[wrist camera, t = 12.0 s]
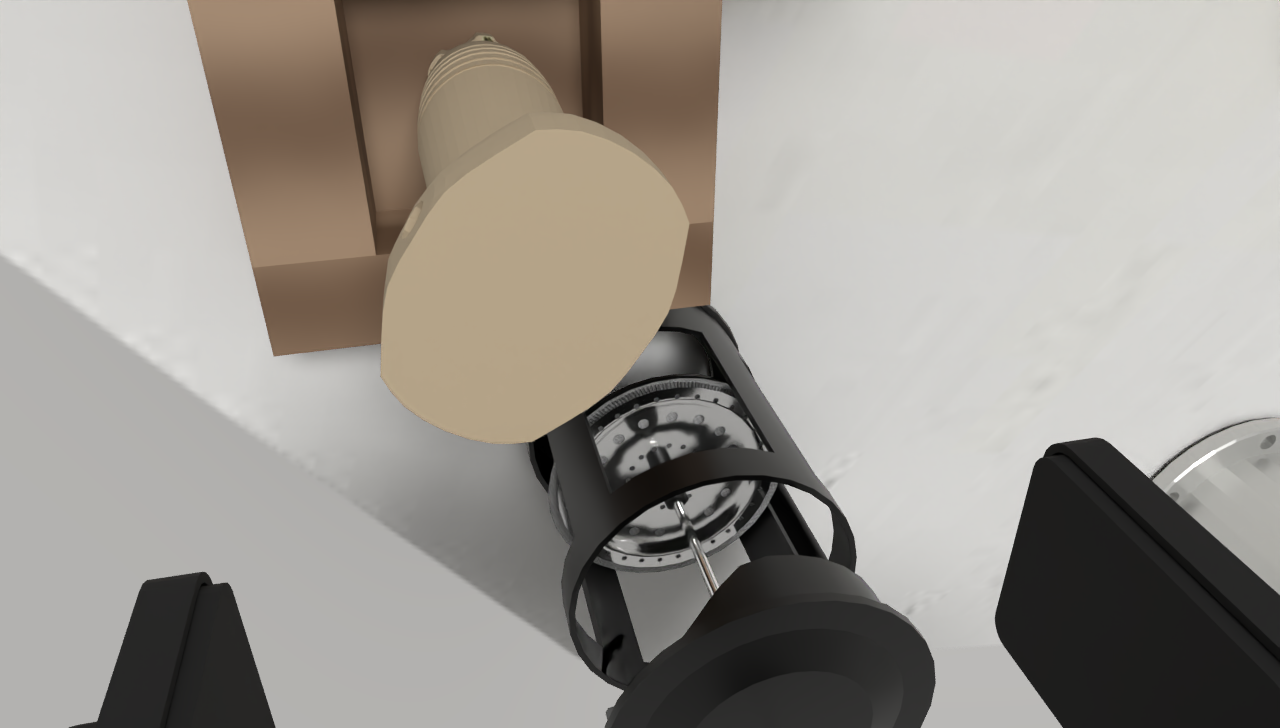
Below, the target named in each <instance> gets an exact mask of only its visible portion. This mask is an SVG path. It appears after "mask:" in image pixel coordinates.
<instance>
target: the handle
mask: <svg viewBox="0 0 1280 728" xmlns="http://www.w3.org/2000/svg"><path fill="white" fill-rule="evenodd" d="M417 135H418V152H419V157H420V161H421V166H422V170H423V174H424V178H425V183H426V187H427V189H426V190H425V192H424V193H423V194H422V196H421V197H420V198H419V200H418V201H417V202H416V204H415V205H414V207H413V209H412V211H411V213H410V215H409V217H408V219H407V221H406V223H405V225H404V227H403V229H402V231H401V232H400V234H399V237H398V239H397V241H396V243H395V245H394V247H393V249H392V252H391V254H390V256H389V259H388V265H387V273H386V280H385V287H384V297H383V314H382V336H381V378H382V379H383V381H384V382H385V384H386V385H387V387H388V388H389V390H390V391H391V392H392V394H393V395H394V396H395V397H396V398H397V399H398V400H399V401H400V402H401V404H402V405H403V406H404V407H406V408H407V409H408V410H410V411H411V412H413V413H414V414H415V415H417V416H418V417H420V418H421V419H422V420H424V421H426V422H428V423H430V424H432V425H434V426H436V427H438V428H440V429H442V430H444V431H446V432H449V433H452V434H455V435H458V436H461V437H464V438H467V439H471V440H476V441H481V442H487V443H492V444H516V443H525V442H533V441H535V440H536V439H538V438H540V437H542V436H543V435H545V434H547V433H548V432H550V431H552V430H554V429H555V428H557V427H559V426H560V425H562V424H564V423H566V422H567V421H569V420H570V419H572V418H574V417H575V416H577V415H579V414H580V413H582V412H583V411H585V410H587V409H588V408H590V407H591V406H593V405H594V404H595V403H597V402H598V401H599V400H601V399H602V398H603V397H605V396H606V395H607V394H608V393H610V392H611V391H612V389H613V388H614V387H615V386H616V385H617V384H618V383H619V382H620V381H621V379H622V378H623V377H624V376H625V375H626V374H627V372H628V371H629V370H630V368H631V367H632V366H633V364H634V363H635V362H636V360H637V359H638V358H639V356H640V355H641V353H642V352H643V351H644V349H645V348H646V347H647V345H648V344H649V343H650V341H651V340H652V339H653V337H654V336H655V334H656V333H657V331H658V329H659V328H660V326H661V324H662V323H663V321H664V319H665V318H666V316H667V314H668V312H669V309H670V306H671V303H672V301H673V298H674V295H675V292H676V288H677V284H678V279H679V274H680V270H681V265H682V261H683V255H684V250H685V245H686V240H687V234H688V229H689V224H690V223H689V221H688V218H687V215H686V213H685V210H684V208H683V205H682V203H681V202H680V200H679V198H678V196H677V195H676V193H675V191H674V189H673V187H672V186H671V185H670V183H669V182H668V180H667V179H666V177H665V176H664V174H663V173H662V172H661V170H660V169H659V168H658V167H657V166H656V165H655V164H654V163H653V162H652V161H651V160H650V159H649V158H648V156H647V155H646V154H645V153H644V152H643V151H641V150H640V149H639V148H637V147H636V146H635V145H633V144H632V143H631V142H629V141H628V140H627V139H626V138H624V137H623V136H622V135H620V134H618V133H616V132H614V131H612V130H610V129H609V128H607V127H605V126H603V125H601V124H599V123H597V122H594V121H591V120H588V119H585V118H582V117H579V116H576V115H573V114H565V113H563V111H562V109H561V106H560V104H559V102H558V100H557V98H556V96H555V94H554V92H553V90H552V88H551V87H550V85H549V84H548V82H547V81H546V79H545V78H544V77H543V75H542V74H541V73H540V72H539V70H538V69H537V68H536V67H535V66H534V65H533V64H532V63H531V62H530V61H529V60H528V59H526V57H525V56H524V55H522V54H520V53H518V52H517V51H515V50H513V49H511V48H510V47H508V46H505V45H502V44H499V43H498V42H497V41H496V40H495V38H494V37H493V36H492V35H491V34H487V33H475V34H474V35H473V37H472V38H471V39H470V40H469V41H468V42H466V43H464V44H461V45H459V46H457V47H454V48H452V49H451V50H440V51H439V52H438V53H437V54H436V55H435V57H434V58H433V59H432V61H431V64H430V66H429V69H428V78H427V80H426V82H425V85H424V88H423V92H422V95H421V100H420V106H419V113H418V123H417Z"/></svg>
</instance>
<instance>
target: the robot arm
mask: <svg viewBox="0 0 1280 728" xmlns="http://www.w3.org/2000/svg"><path fill="white" fill-rule="evenodd" d="M995 625H996V629H997V633H998V636H999V638H1000V640H1001V642H1002V644H1003V645H1004V647H1005V648H1006V649H1007V651H1008V652H1009V654H1010V655H1011V656H1012V658H1013V659H1014V660H1015V662H1016V663H1017V665H1018V666H1019V667H1020V669H1021V670H1022V672H1023V673H1024V674H1025V676H1026V677H1027V679H1028V680H1029V681H1030V682H1031V684H1032V685H1033V687H1034V688H1035V690H1036V691H1037V692H1038V694H1039V695H1040V696H1041V698H1042V699H1043V700H1044V702H1045V703H1046V705H1047V706H1048V708H1049V709H1050V710H1051V712H1052V713H1053V714H1054V716H1055V717H1056V719H1057V720H1058V721H1059V723H1060V724H1061V725H1062V727H1063V728H1280V418H1269V419H1261V420H1253V421H1250V422H1246V423H1243V424H1239V425H1236V426H1232V427H1230V428H1228V429H1225V430H1223V431H1221V432H1219V433H1216V434H1214V435H1212V436H1210V437H1208V438H1206V439H1205V440H1203V441H1201V442H1200V443H1198V444H1196V445H1195V446H1193V447H1191V448H1190V449H1188V450H1187V451H1186V452H1184V453H1183V454H1182V455H1180V456H1179V457H1178V458H1176V459H1175V460H1174V461H1172V462H1171V463H1170V464H1169V465H1168V466H1167V467H1166V468H1165V469H1164V470H1163V471H1162V472H1160V473H1159V474H1158V475H1157V476H1156V477H1155V478H1154V479H1153V480H1152V481H1151V480H1150V479H1149V478H1148V477H1147V476H1146V475H1145V474H1144V473H1143V472H1141V471H1140V470H1139V469H1138V468H1137V467H1136V466H1135V465H1134V464H1132V463H1131V462H1130V461H1129V460H1128V459H1127V458H1126V457H1125V456H1123V455H1122V454H1121V453H1120V452H1119V451H1118V450H1117V449H1116V448H1115V447H1113V446H1112V445H1111V444H1110V443H1108V442H1107V441H1105V440H1104V439H1101V438H1089V439H1083V440H1076V441H1069V442H1063V443H1057V444H1053V445H1051V446H1050V447H1049V448H1048V449H1047V450H1046V452H1045V454H1044V457H1043V458H1040V459H1039V460H1038V461H1037V462H1036V463H1035V466H1034V468H1033V472H1032V476H1031V479H1030V483H1029V487H1028V491H1027V495H1026V498H1025V502H1024V506H1023V510H1022V514H1021V518H1020V521H1019V525H1018V529H1017V533H1016V537H1015V541H1014V544H1013V548H1012V552H1011V556H1010V560H1009V564H1008V567H1007V571H1006V575H1005V579H1004V583H1003V586H1002V590H1001V594H1000V598H999V602H998V606H997V609H996V614H995ZM69 728H275V725H274V721H273V718H272V715H271V712H270V709H269V705H268V702H267V699H266V696H265V693H264V689H263V686H262V683H261V680H260V677H259V674H258V671H257V667H256V665H255V661H254V658H253V655H252V651H251V648H250V645H249V642H248V638H247V635H246V632H245V629H244V626H243V623H242V620H241V616H240V613H239V610H238V607H237V603H236V600H235V597H234V594H233V591H232V589H231V586H230V585H229V584H228V583H220V584H213V583H212V581H211V579H210V577H209V575H208V574H207V573H206V572H199V573H192V574H186V575H179V576H172V577H166V578H159V579H152V580H147V581H146V582H145V583H143V585H142V587H141V589H140V591H139V594H138V597H137V600H136V603H135V606H134V609H133V613H132V616H131V619H130V622H129V625H128V628H127V631H126V634H125V637H124V640H123V644H122V646H121V650H120V653H119V656H118V659H117V662H116V665H115V668H114V671H113V674H112V677H111V680H110V684H109V687H108V690H107V693H106V696H105V699H104V702H103V705H102V708H101V711H100V714H99V718H98V721H97V722H93V723H86V724H81V725H76V726H72V727H69Z"/></svg>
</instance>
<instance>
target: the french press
mask: <svg viewBox="0 0 1280 728" xmlns="http://www.w3.org/2000/svg"><path fill="white" fill-rule="evenodd" d="M658 331H675V332H683V333H687V334H691V335H693V336H695V337H696V338H697V340H698V341H699V342H700V343H701V344H702V346H703V347H704V349H705V351H706V353H707V355H708V359H709V363H710V368H711V377H710V376H703V375H696V374H679V375H668V376H661V377H655V378H650V379H647V380H644V381H641V382H638V383H634V384H631V385H628V386H626V387H624V388H622V389H620V390H618V391H616V392H614V393H612V394H610V395H608V396H606V397H605V398H603V399H602V400H600V401H599V402H597V403H596V404H594V405H593V406H592V407H590V408H589V409H588V410H587V411H586V412H585V411H583V412H582V413H580V414H579V415H577V416H575V417H574V418H572V419H570V420H569V421H567V422H566V423H564V424H562V425H560V426H559V427H557V428H555V429H554V430H552V431H550V432H548V433H547V434H545V435H543V436H542V437H540V438H538V439H536V440H535V441H533V442H526V444H527V448H528V452H529V457H530V461H531V463H532V466H533V469H534V471H535V474H536V477H537V478H538V480H539V481H540V483H541V484H542V486H543V487H544V489H545V490H546V492H547V493H548V495H549V505H550V512H551V515H552V518H553V520H554V523H555V526H556V528H557V530H558V531H559V533H560V534H561V535H562V537H563V538H564V540H565V541H566V543H567V544H569V545H570V546H571V547H570V549H569V551H568V554H567V556H566V559H565V562H564V569H563V575H562V581H561V585H562V595H563V604H564V609H565V613H566V617H567V622H568V626H569V630H570V635H571V637H572V640H573V642H574V645H575V647H576V650H577V652H578V655H579V656H580V657H581V658H582V660H583V661H584V662H585V664H586V665H587V666H588V667H589V669H590V670H591V671H592V672H594V673H595V674H596V675H598V676H599V677H600V678H601V679H603V680H604V681H605V682H607V683H608V684H611V685H613V686H615V687H617V688H620V689H622V690H624V692H623V694H622V695H621V696H620V697H619V699H618V700H617V702H616V705H615V706H614V707H611V708H608V710H607V711H606V715H607V719H608V721H607V723H606V725H605V728H921V725H922V723H923V721H924V719H925V717H926V715H927V712H928V710H929V708H930V706H931V702H932V697H933V692H934V687H935V668H934V660H933V658H932V656H931V653H930V650H929V648H928V645H927V643H926V641H925V640H924V638H923V636H922V635H921V634H920V632H919V631H918V630H917V629H916V628H915V627H914V625H913V624H912V623H911V622H910V621H909V619H908V618H907V617H905V616H904V615H902V614H900V613H899V612H897V611H896V610H894V609H893V608H891V607H890V606H888V605H886V604H883V603H881V602H880V601H879V599H878V598H877V596H876V594H875V593H874V592H873V590H872V589H871V588H870V587H869V586H868V585H867V583H866V582H865V581H864V580H863V579H862V578H861V577H860V576H858V575H857V574H855V566H856V558H857V556H856V548H855V540H854V536H853V533H852V531H851V529H850V526H849V524H848V522H847V519H846V517H845V516H844V514H843V513H842V511H841V510H840V508H839V507H838V505H837V503H836V502H835V500H834V499H833V497H832V496H831V494H830V493H829V491H828V490H827V489H826V487H825V486H824V485H823V484H822V483H821V481H820V480H819V479H818V478H817V476H816V475H815V474H814V472H813V471H812V469H811V467H810V466H809V464H808V463H807V461H806V460H805V458H804V457H803V455H802V453H801V452H800V450H799V449H798V447H797V446H796V444H795V443H794V441H793V439H792V438H791V436H790V435H789V433H788V432H787V430H786V429H785V427H784V425H783V424H782V422H781V421H780V419H779V418H778V416H777V415H776V413H775V411H774V410H773V408H772V407H771V405H770V404H769V402H768V401H767V399H766V397H765V396H764V394H763V393H762V391H761V390H760V388H759V387H758V385H757V383H756V382H755V380H754V378H753V376H752V374H751V371H750V369H749V367H748V366H747V364H746V363H745V361H744V360H743V358H742V357H741V355H740V353H739V350H738V345H737V343H736V341H735V338H734V336H733V334H732V332H731V329H730V327H729V326H728V325H727V323H726V322H725V321H724V319H723V318H722V317H721V316H720V314H719V313H718V312H717V311H716V309H714V308H713V307H712V306H711V305H704V306H695V307H687V308H678V309H670V310H669V312H668V314H667V316H666V318H665V319H664V321H663V323H662V324H661V326H660V328H659V329H658ZM784 484H786V485H790V486H792V487H795V488H797V489H800V490H802V491H805V492H808V493H810V494H811V495H813V496H814V497H816V498H817V499H819V500H820V501H821V502H823V503H824V504H826V505H827V506H828V507H829V508H830V510H831V515H832V522H833V529H834V534H833V543H832V551H831V554H830V557H829V560H828V559H827V557H826V556H825V554H824V552H823V551H822V549H821V547H820V546H819V544H818V542H817V540H816V539H815V537H814V535H813V534H812V532H811V530H810V528H809V527H808V525H807V523H806V522H805V520H804V518H803V517H802V515H801V513H800V511H799V510H798V508H797V506H796V505H795V503H794V501H793V500H792V498H791V496H790V494H789V493H788V491H787V489H786V488H785V486H784ZM738 538H740V540H741V542H742V544H743V546H744V548H745V550H746V552H747V554H748V556H749V559H750V561H751V562H749V563H746V564H744V565H741V566H739V567H738V568H737V569H736V570H735V571H734V572H733V573H732V574H731V575H730V577H729V578H728V579H727V580H726V581H725V582H724V583H723V584H722V585H721V586H720V587H719V585H718V582H717V580H716V578H715V575H714V573H713V571H712V568H711V566H710V564H709V561H708V559H707V557H709V556H711V555H713V554H715V553H717V552H719V551H721V550H722V549H723V548H725V547H726V546H728V545H729V544H731V543H732V542H733V541H735V540H736V539H738ZM695 562H697V565H698V567H699V570H700V572H701V574H702V577H703V579H704V582H705V584H706V586H707V589H708V591H709V594H710V596H711V598H710V600H709V601H708V603H707V604H706V605H705V607H704V608H703V610H702V611H701V613H700V614H699V615H698V617H697V618H696V620H695V621H694V623H693V624H692V625H691V627H690V628H689V629H688V631H687V632H686V633H685V635H684V636H683V637H682V638H681V639H679V640H678V641H676V642H675V643H673V644H672V645H671V646H669V647H668V648H666V649H665V650H663V651H662V652H661V653H660V654H659V655H658V656H656V657H655V658H654V659H653V660H652V661H651V662H650V663H647V662H643V659H642V655H641V652H640V649H639V646H638V642H637V639H636V636H635V633H634V629H633V626H632V623H631V619H630V616H629V613H628V610H627V606H626V603H625V600H624V597H623V593H622V590H621V587H620V584H619V580H618V577H617V574H616V571H615V570H620V571H628V572H637V573H639V572H660V571H665V570H670V569H675V568H680V567H683V566H686V565H689V564H692V563H695ZM581 585H582V587H583V591H584V594H585V598H586V602H587V606H588V610H589V614H590V618H591V621H592V625H593V629H594V633H595V637H596V641H597V642H596V641H594V640H593V639H592V638H590V637H589V636H588V635H587V634H586V632H585V631H584V630H583V628H582V627H581V626H580V624H579V623H578V622H577V620H576V618H575V610H576V604H577V598H578V593H579V589H580V587H581Z"/></svg>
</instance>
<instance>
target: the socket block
mask: <svg viewBox="0 0 1280 728" xmlns="http://www.w3.org/2000/svg"><path fill="white" fill-rule="evenodd" d="M187 1H188V5H189V10H190V14H191V18H192V22H193V26H194V30H195V34H196V38H197V42H198V47H199V51H200V55H201V59H202V63H203V67H204V71H205V75H206V79H207V84H208V88H209V92H210V96H211V100H212V104H213V108H214V112H215V116H216V121H217V125H218V129H219V133H220V137H221V141H222V145H223V149H224V154H225V158H226V162H227V166H228V170H229V174H230V178H231V182H232V186H233V191H234V195H235V199H236V203H237V207H238V211H239V215H240V219H241V223H242V228H243V232H244V236H245V240H246V244H247V248H248V252H249V256H250V260H251V265H252V269H253V273H254V277H255V281H256V285H257V289H258V293H259V297H260V302H261V306H262V310H263V314H264V318H265V322H266V326H267V330H268V334H269V339H270V343H271V347H272V351H273V355H274V356H280V355H289V354H297V353H306V352H314V351H323V350H331V349H340V348H348V347H357V346H365V345H373V344H381V336H382V314H383V297H384V287H385V280H386V273H387V265H388V259H389V256H390V254H391V252H392V249H393V247H394V245H395V243H396V241H397V239H398V237H399V234H400V232H401V231H402V229H403V227H404V225H405V223H406V221H407V219H408V217H409V215H410V213H411V211H412V209H413V207H414V205H415V204H416V202H417V201H418V200H419V198H420V197H421V196H422V194H423V193H424V192H425V190H426V189H427V187H426V183H425V178H424V174H423V170H422V166H421V161H420V157H419V152H418V135H417V123H418V113H419V106H420V100H421V95H422V92H423V88H424V85H425V82H426V80H427V78H428V69H429V66H430V64H431V61H432V59H433V58H434V57H435V55H436V54H437V53H438V52H439V51H440V50H451V49H452V48H454V47H457V46H459V45H461V44H464V43H466V42H468V41H469V40H470V39H471V38H472V37H473V35H474V34H475V33H487V34H491V35H492V36H493V37H494V38H495V40H496V41H497V42H498V43H499V44H502V45H505V46H508V47H510V48H511V49H513V50H515V51H517V52H518V53H520V54H522V55H524V56H525V57H526V59H528V60H529V61H530V62H531V63H532V64H533V65H534V66H535V67H536V68H537V69H538V70H539V72H540V73H541V74H542V75H543V77H544V78H545V79H546V81H547V82H548V84H549V85H550V87H551V88H552V90H553V92H554V94H555V96H556V98H557V100H558V102H559V104H560V106H561V109H562V111H563V113H565V114H573V115H576V116H579V117H582V118H585V119H588V120H591V121H594V122H597V123H599V124H601V125H603V126H605V127H607V128H609V129H610V130H612V131H614V132H616V133H618V134H620V135H622V136H623V137H624V138H626V139H627V140H628V141H629V142H631V143H632V144H633V145H635V146H636V147H637V148H639V149H640V150H641V151H643V152H644V153H645V154H646V155H647V156H648V158H649V159H650V160H651V161H652V162H653V163H654V164H655V165H656V166H657V167H658V168H659V169H660V170H661V172H662V173H663V174H664V176H665V177H666V179H667V180H668V182H669V183H670V185H671V186H672V187H673V189H674V191H675V193H676V195H677V196H678V198H679V200H680V202H681V203H682V205H683V208H684V210H685V213H686V215H687V218H688V221H689V223H690V224H689V229H688V234H687V240H686V245H685V250H684V255H683V261H682V265H681V270H680V274H679V279H678V284H677V288H676V292H675V295H674V298H673V301H672V303H671V306H670V309H678V308H687V307H695V306H704V305H710V297H711V272H712V246H713V221H714V195H715V170H716V144H717V119H718V93H719V67H720V42H721V16H722V0H187ZM670 309H669V310H670Z"/></svg>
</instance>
